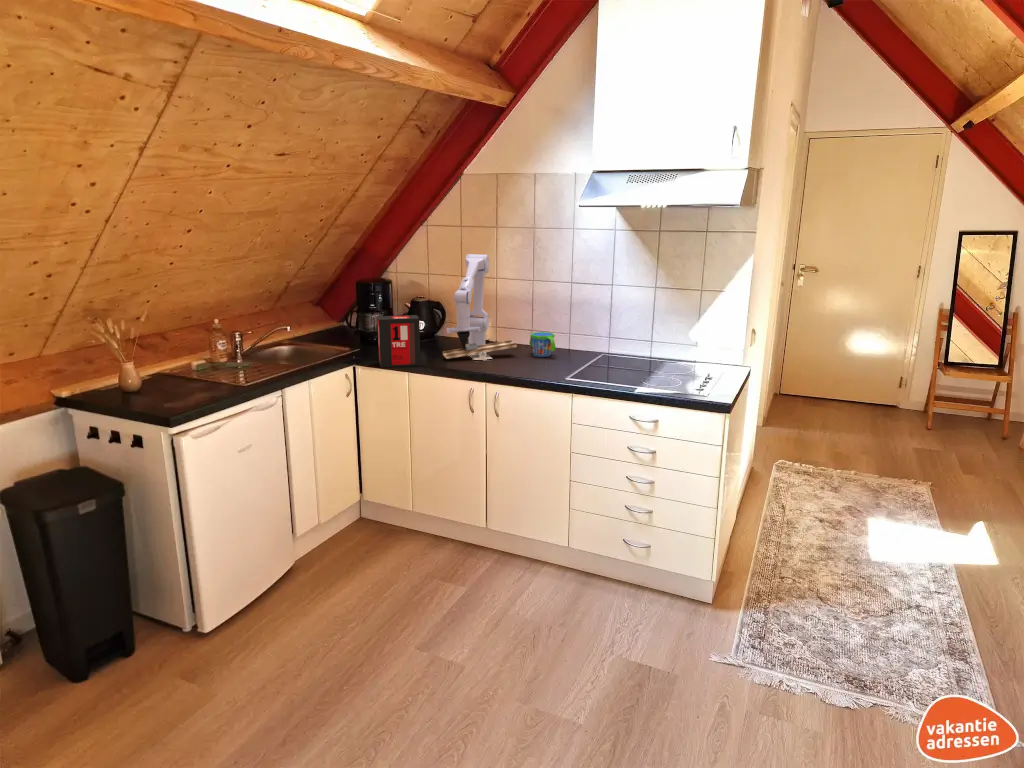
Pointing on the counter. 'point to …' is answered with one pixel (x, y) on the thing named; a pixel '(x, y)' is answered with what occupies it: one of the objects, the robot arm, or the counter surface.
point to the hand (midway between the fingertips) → (463, 348)
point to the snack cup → (542, 343)
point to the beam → (479, 349)
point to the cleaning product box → (399, 340)
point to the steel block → (471, 347)
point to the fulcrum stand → (480, 356)
